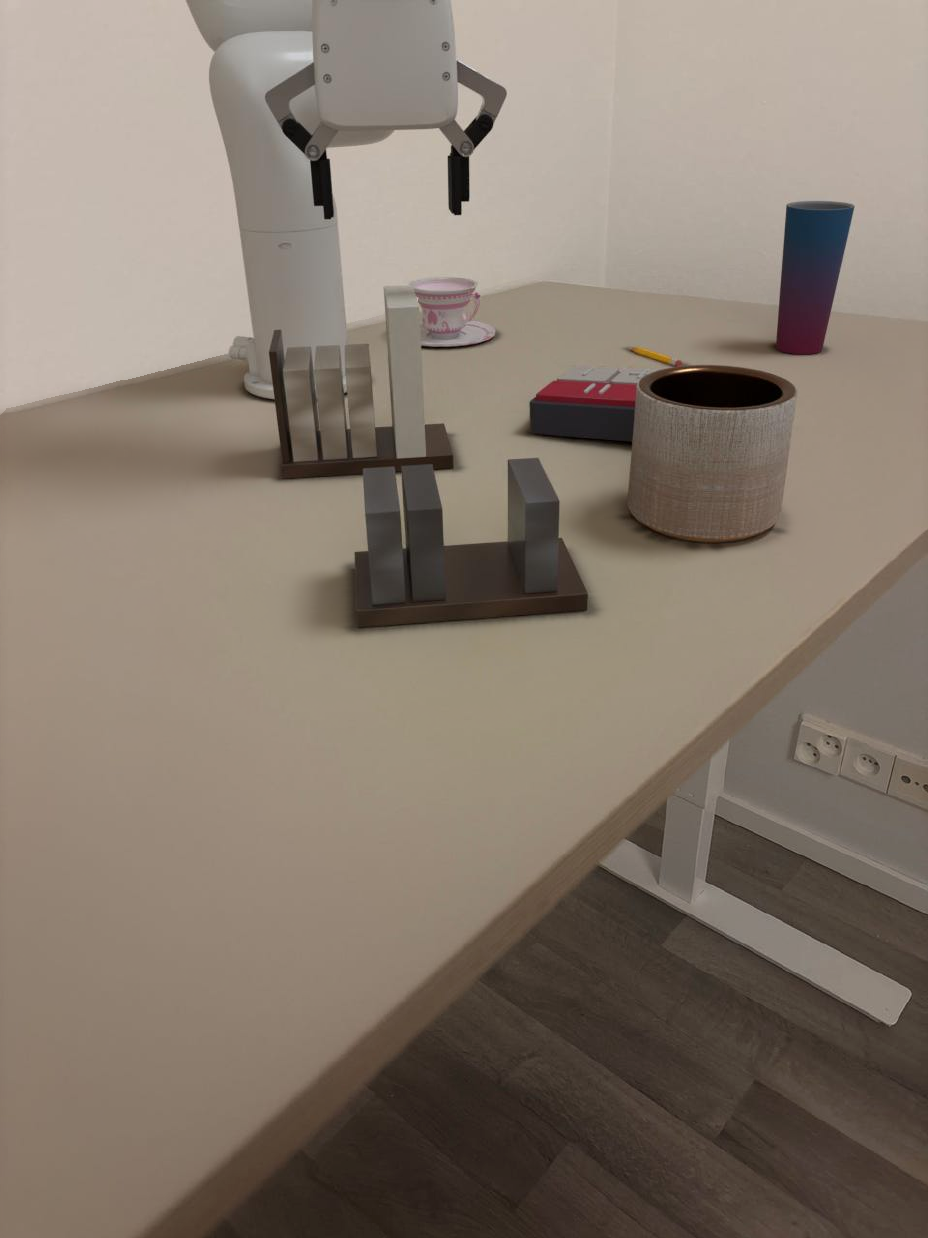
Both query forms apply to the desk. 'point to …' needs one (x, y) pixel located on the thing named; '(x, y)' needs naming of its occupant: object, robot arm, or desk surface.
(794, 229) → the cup
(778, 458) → the planter
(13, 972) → the desk surface
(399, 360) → the white book
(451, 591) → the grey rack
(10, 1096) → the desk surface
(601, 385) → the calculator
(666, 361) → the pencil
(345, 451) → the brown rack
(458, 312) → the teacup
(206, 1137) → the desk surface
